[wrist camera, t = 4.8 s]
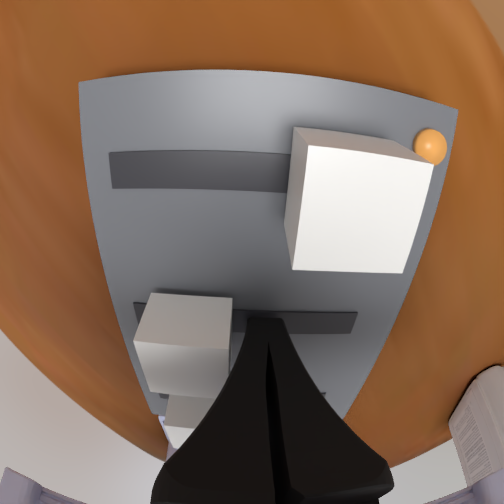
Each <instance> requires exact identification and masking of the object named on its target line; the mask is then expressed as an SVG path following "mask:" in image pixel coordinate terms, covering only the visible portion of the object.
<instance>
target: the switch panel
mask: <svg viewBox="0 0 504 504" xmlns="http://www.w3.org/2000/svg"><path fill="white" fill-rule="evenodd" d="M79 106H80V123H81V135H82V146H83V156H84V164H85V172H86V179H87V186H88V193H89V199H90V205H91V211H92V217H93V222H94V227H95V232H96V237H97V242H98V247H99V251H100V256H101V260H102V264H103V268H104V272H105V276H106V280H107V284H108V288H109V292H110V295H111V299H112V302H113V306H114V309H115V313H116V316H117V319H118V323H119V326H120V329H121V332H122V335H123V338H124V341H125V344H126V347H127V350H128V353H129V356H130V359H131V362H132V364H133V367H134V370H135V373H136V375H137V378H138V380H139V383H140V386H141V388H142V391H143V393H144V396H145V398H146V400H147V403H148V405H149V408H150V410H151V412H152V414H158V415H166V409H167V404H168V399H169V394H163V393H155V392H150V390H149V387H148V384H147V381H146V378H145V376H144V373H143V370H142V367H141V364H140V361H139V358H138V355H137V352H136V348H135V345H134V342H133V340H134V337H135V334H136V331H137V329H138V326H139V323H140V320H141V318H142V315H143V312H144V310H145V307H146V305H147V302H148V299H149V297H150V294H151V293H162V294H176V295H191V296H207V297H225V298H232V354H231V370H232V368H233V366H234V363H235V361H236V359H237V356H238V353H239V351H240V348H241V346H242V342H243V339H244V336H245V332H246V327H247V319H248V318H250V317H261V318H282V319H283V320H284V322H285V325H286V328H287V331H288V333H289V336H290V338H291V340H292V343H293V345H294V347H295V349H296V351H297V353H298V355H299V357H300V359H301V361H302V363H303V364H304V366H305V368H306V370H307V372H308V373H309V375H310V377H311V378H312V380H313V381H314V383H315V385H316V386H317V388H318V389H319V391H320V392H321V393H322V395H323V396H324V398H325V399H326V400H327V402H328V403H329V404H330V406H331V407H332V408H333V409H334V411H335V412H336V413H337V414H338V415H339V417H340V418H341V419H342V420H343V418H344V416H345V415H346V413H347V412H348V410H349V408H350V407H351V405H352V403H353V401H354V400H355V398H356V396H357V395H358V393H359V391H360V389H361V387H362V386H363V384H364V382H365V380H366V378H367V377H368V375H369V373H370V371H371V369H372V367H373V365H374V363H375V361H376V359H377V357H378V355H379V354H380V352H381V349H382V347H383V345H384V343H385V341H386V339H387V337H388V335H389V333H390V331H391V329H392V326H393V324H394V322H395V320H396V318H397V315H398V313H399V311H400V308H401V306H402V304H403V301H404V299H405V297H406V294H407V292H408V289H409V287H410V284H411V282H412V279H413V277H414V274H415V271H416V269H417V266H418V263H419V261H420V258H421V255H422V252H423V249H424V246H425V244H426V241H427V238H428V234H429V231H430V228H431V225H432V222H433V219H434V215H435V212H436V209H437V205H438V202H439V198H440V194H441V191H442V187H443V183H444V179H445V175H446V171H447V166H448V162H449V158H450V153H451V148H452V143H453V138H454V133H455V127H456V122H457V115H458V110H457V109H454V108H451V107H448V106H445V105H442V104H439V103H436V102H433V101H429V100H426V99H422V98H419V97H415V96H412V95H408V94H404V93H400V92H396V91H392V90H388V89H384V88H379V87H375V86H370V85H365V84H360V83H354V82H349V81H343V80H337V79H331V78H324V77H317V76H309V75H301V74H291V73H280V72H267V71H249V70H181V71H163V72H150V73H140V74H131V75H122V76H115V77H108V78H101V79H95V80H89V81H83V82H79ZM294 127H303V128H313V129H322V130H330V131H338V132H345V133H352V134H359V135H365V136H371V137H377V138H383V139H388V140H393V141H395V142H397V143H399V144H401V145H402V146H404V147H406V148H408V149H409V150H411V151H413V152H414V153H416V154H418V155H419V156H421V157H423V158H424V159H426V160H428V161H429V162H431V163H432V164H434V167H433V171H432V176H431V180H430V184H429V188H428V192H427V196H426V199H425V203H424V207H423V210H422V214H421V217H420V221H419V224H418V227H417V231H416V234H415V237H414V240H413V243H412V247H411V250H410V253H409V256H408V258H407V261H406V264H405V267H404V270H403V273H369V272H338V271H311V270H292V266H291V260H290V255H289V249H288V244H287V238H286V233H285V228H284V219H285V210H286V200H287V191H288V181H289V171H290V161H291V151H292V140H293V129H294ZM231 370H230V372H231Z"/></svg>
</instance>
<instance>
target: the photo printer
mask: <svg viewBox="0 0 504 504" xmlns="http://www.w3.org/2000/svg"><path fill="white" fill-rule="evenodd" d="M449 429H450V432H451V435H452V438H453V440H454V443H455V446H456V449H457V452H458V456H459V459H460V462H461V466H462V469H463V472H464V476H465V479H466V483H467V487H469V486H471V485H473V484H474V483H475V482H477V481H479V480H480V479H482V478H484V477H486V476H488V475H490V474H492V473H494V472H496V471H498V470H499V469H501V468H504V367H500V366H493V367H491V368H489V369H487V370H485V371H483V372H482V373H480V374H479V375H478V376H477V377H476V379H475V380H474V381H473V382H472V383H471V385H470V386H469V388H468V389H467V391H466V393H465V394H464V396H463V398H462V400H461V401H460V403H459V405H458V406H457V408H456V410H455V411H454V413H453V414H452V416H451V418H450V420H449Z"/></svg>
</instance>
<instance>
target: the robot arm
mask: <svg viewBox="0 0 504 504" xmlns="http://www.w3.org/2000/svg"><path fill="white" fill-rule="evenodd" d="M158 418H159V421H160V423H161V425H162V428H163V430H164V432H165V435H166V437H167V439H168V441H169V445H168V451H167V457H166V462H165V463H164V465H163V467H162V469H161V470H160V472H159V474H158V476H157V478H156V480H155V483H154V486H153V489H152V495H151V502H150V504H379V499H378V498H380V497H382V496H383V495H385V494H387V493H388V492H390V491H391V490H392V489H393V487H394V481H393V477H392V474H391V471H390V468H389V466H388V463H387V461H386V460H385V459H384V458H382V457H381V456H380V455H379V454H377V453H376V452H375V451H374V450H373V449H371V448H370V447H369V446H368V445H367V444H366V443H365V442H364V441H363V440H361V439H360V438H359V437H358V436H357V435H356V434H355V433H354V432H353V431H352V430H351V428H350V427H349V426H348V425H347V424H346V423H345V422H344V421H343V420H342V419H341V418H340V417H339V415H338V414H337V413H336V412H335V411H334V409H333V408H332V407H331V406H330V404H329V403H328V402H327V400H326V399H325V398H324V396H323V395H322V393H321V392H320V391H319V389H318V388H317V386H316V385H315V383H314V381H313V380H312V378H311V377H310V375H309V373H308V372H307V370H306V368H305V366H304V364H303V363H302V361H301V359H300V357H299V355H298V353H297V351H296V349H295V347H294V345H293V343H292V340H291V338H290V336H289V333H288V331H287V328H286V325H285V322H284V320H283V319H282V318H261V317H250V318H248V319H247V327H246V332H245V336H244V339H243V342H242V346H241V348H240V351H239V353H238V356H237V359H236V361H235V363H234V366H233V368H232V370H231V372H230V374H229V376H228V378H227V380H226V382H225V384H224V386H223V388H222V389H221V391H220V393H219V395H218V396H217V398H216V400H215V401H214V403H213V404H212V406H211V407H210V409H209V410H208V412H207V413H206V415H205V416H204V418H203V419H202V420H201V422H200V423H199V425H198V426H197V427H196V428H195V430H194V431H193V432H192V433H191V435H190V436H189V437H188V438H187V439H186V441H185V442H184V443H183V444H182V445H181V446H180V447H179V448H178V449H177V448H173V446H172V444H171V442H170V439H169V437H168V435H167V432H166V430H165V428H164V420H165V415H159V417H158ZM0 504H86V503H83V502H80V501H77V500H74V499H72V498H69V497H66V496H64V495H61V494H58V493H56V492H54V491H51V490H49V489H47V488H44V487H42V486H41V485H40V484H38V483H37V482H35V481H34V480H32V479H30V478H28V477H26V476H24V475H22V474H20V473H18V472H16V471H14V470H12V469H10V468H8V467H6V468H5V471H4V473H3V477H2V480H1V483H0ZM425 504H504V468H501V469H499V470H498V471H496V472H494V473H492V474H490V475H488V476H486V477H484V478H482V479H480V480H479V481H477V482H475V483H474V484H473V485H471V486H469V487H467V488H464V489H462V490H460V491H457V492H455V493H452V494H450V495H447V496H445V497H442V498H439V499H437V500H434V501H431V502H428V503H425Z"/></svg>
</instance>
